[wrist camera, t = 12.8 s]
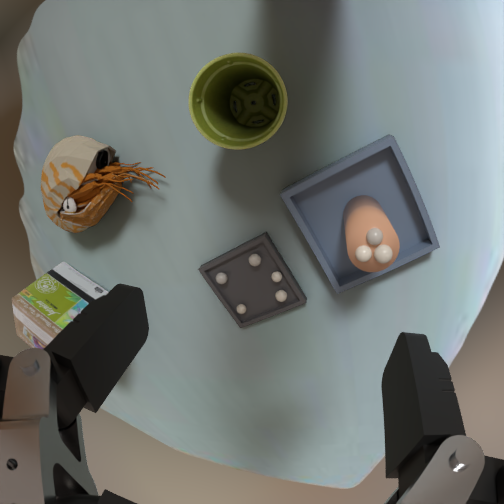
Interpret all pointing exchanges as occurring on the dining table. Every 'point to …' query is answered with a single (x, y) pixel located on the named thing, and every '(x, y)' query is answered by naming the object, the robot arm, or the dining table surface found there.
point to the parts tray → (253, 281)
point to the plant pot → (237, 101)
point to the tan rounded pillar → (369, 235)
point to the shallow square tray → (349, 186)
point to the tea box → (52, 304)
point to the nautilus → (83, 182)
